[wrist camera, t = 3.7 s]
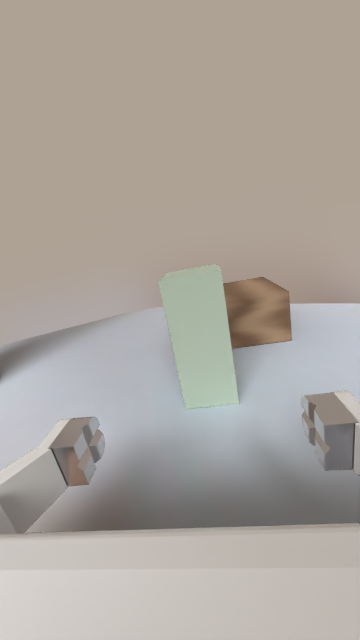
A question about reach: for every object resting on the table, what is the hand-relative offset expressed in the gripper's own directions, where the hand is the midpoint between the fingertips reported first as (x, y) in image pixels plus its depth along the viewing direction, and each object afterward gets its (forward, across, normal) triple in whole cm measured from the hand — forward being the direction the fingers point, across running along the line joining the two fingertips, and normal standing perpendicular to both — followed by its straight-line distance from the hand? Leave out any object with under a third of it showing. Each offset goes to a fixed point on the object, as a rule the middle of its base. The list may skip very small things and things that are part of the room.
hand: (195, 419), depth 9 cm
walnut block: (+26, -4, +6) cm, 27 cm away
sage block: (+12, 0, +6) cm, 13 cm away
